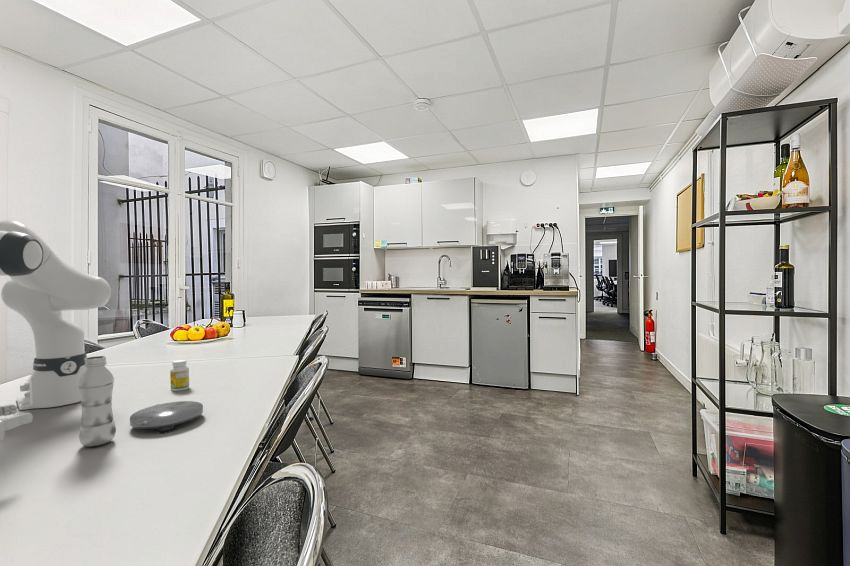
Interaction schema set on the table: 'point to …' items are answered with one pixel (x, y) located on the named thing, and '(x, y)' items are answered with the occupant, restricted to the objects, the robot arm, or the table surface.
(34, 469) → the table surface
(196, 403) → the base
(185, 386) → the supplement bottle
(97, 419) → the plastic bottle
